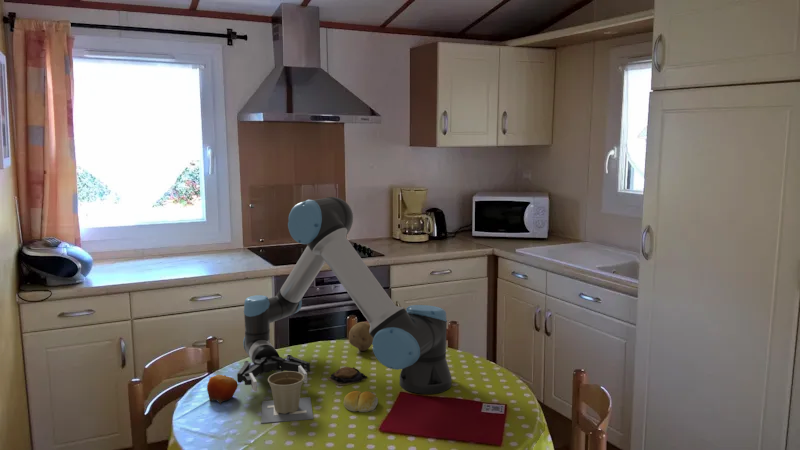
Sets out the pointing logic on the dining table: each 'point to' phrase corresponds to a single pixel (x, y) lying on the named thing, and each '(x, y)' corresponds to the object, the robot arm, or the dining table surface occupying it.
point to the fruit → (221, 388)
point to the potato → (360, 336)
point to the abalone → (346, 376)
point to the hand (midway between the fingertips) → (281, 382)
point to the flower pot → (286, 390)
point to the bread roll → (360, 401)
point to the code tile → (272, 416)
